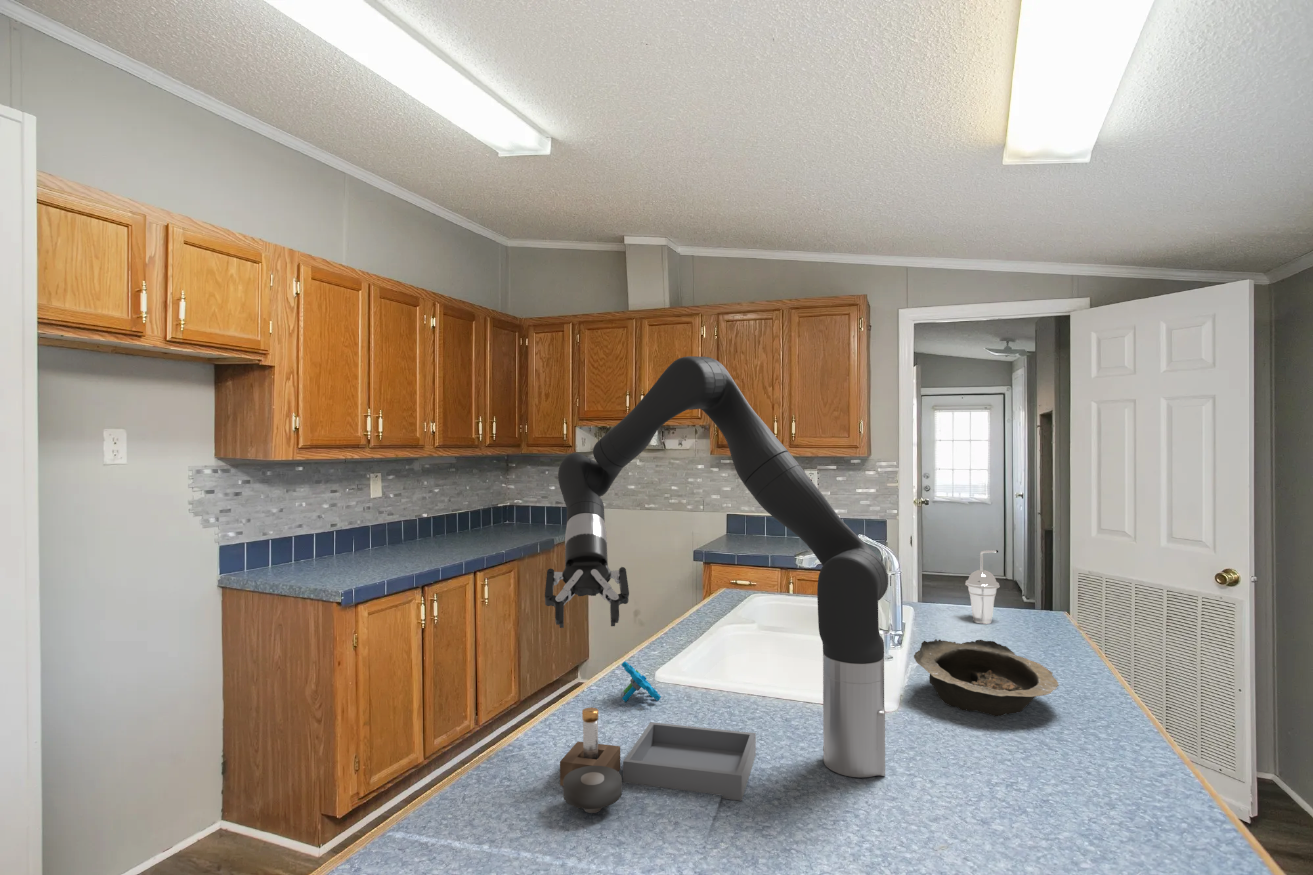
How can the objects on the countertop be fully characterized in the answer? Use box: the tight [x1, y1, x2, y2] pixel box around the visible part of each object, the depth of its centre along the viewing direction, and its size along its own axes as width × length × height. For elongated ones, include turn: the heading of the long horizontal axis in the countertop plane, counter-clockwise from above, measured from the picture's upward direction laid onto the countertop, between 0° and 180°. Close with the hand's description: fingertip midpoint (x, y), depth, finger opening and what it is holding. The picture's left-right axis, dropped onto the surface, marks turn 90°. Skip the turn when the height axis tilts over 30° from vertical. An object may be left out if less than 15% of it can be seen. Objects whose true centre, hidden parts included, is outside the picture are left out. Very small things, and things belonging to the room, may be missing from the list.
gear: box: [621, 660, 662, 703], centre depth 140 cm, size 11×6×10 cm
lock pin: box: [581, 707, 599, 760], centre depth 108 cm, size 2×2×10 cm
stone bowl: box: [913, 638, 1060, 717], centre depth 138 cm, size 25×25×9 cm
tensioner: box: [559, 741, 623, 814], centre depth 104 cm, size 11×16×5 cm
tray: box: [622, 721, 757, 802], centre depth 111 cm, size 18×15×4 cm
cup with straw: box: [965, 549, 1001, 625], centre depth 193 cm, size 8×9×20 cm
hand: (587, 624), depth 120 cm, fingers open, 8 cm apart
